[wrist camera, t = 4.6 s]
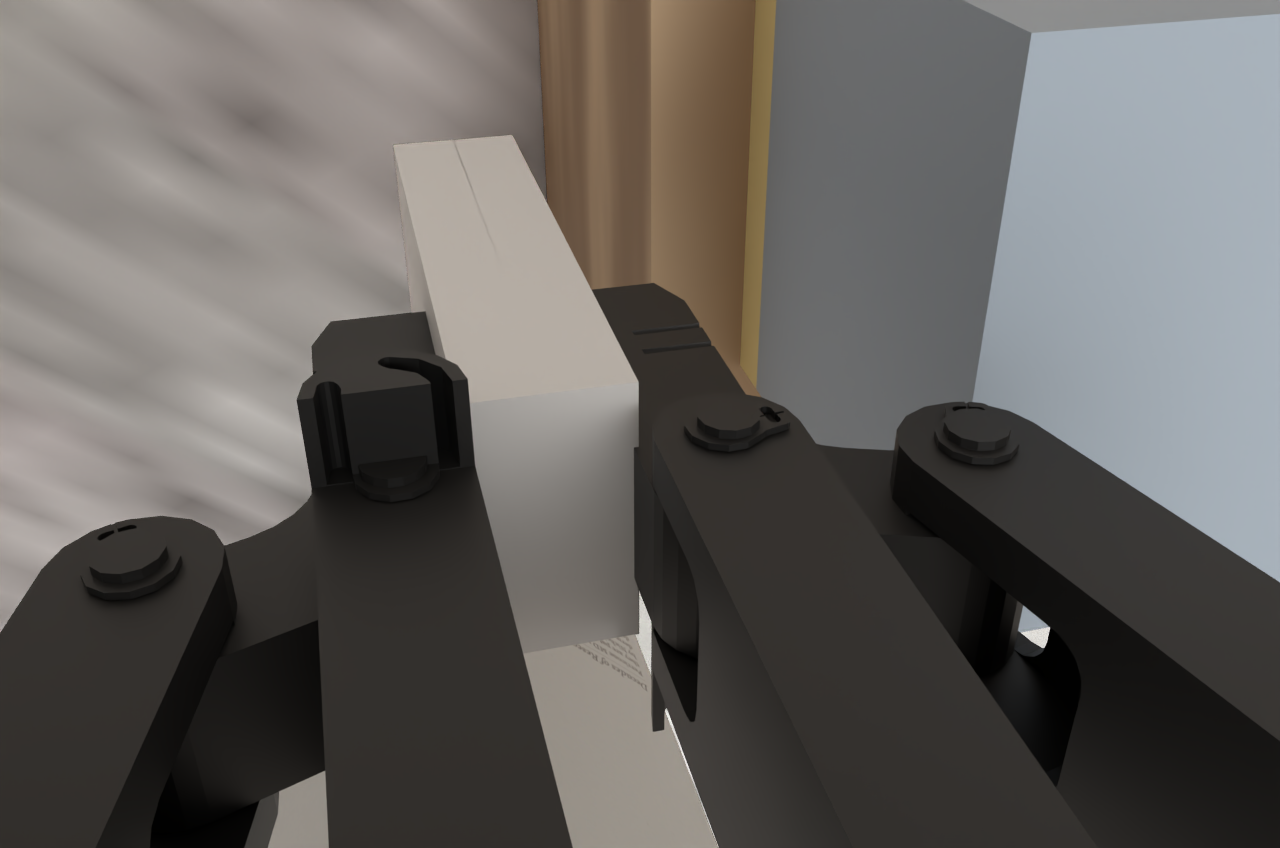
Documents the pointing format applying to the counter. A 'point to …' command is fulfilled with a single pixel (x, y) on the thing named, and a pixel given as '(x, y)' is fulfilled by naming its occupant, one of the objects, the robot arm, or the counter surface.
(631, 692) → the skincare box
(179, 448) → the counter surface
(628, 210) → the oak plinth
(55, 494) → the counter surface
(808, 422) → the slate-blue block
